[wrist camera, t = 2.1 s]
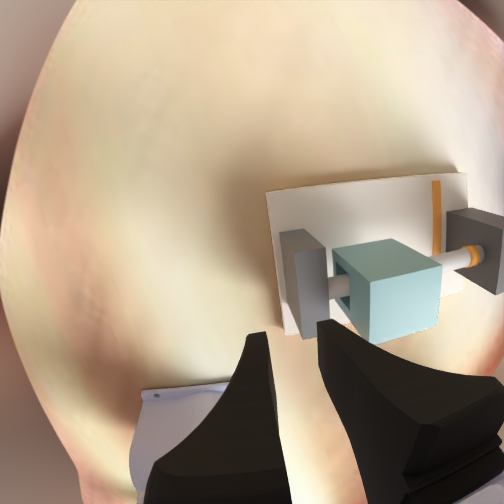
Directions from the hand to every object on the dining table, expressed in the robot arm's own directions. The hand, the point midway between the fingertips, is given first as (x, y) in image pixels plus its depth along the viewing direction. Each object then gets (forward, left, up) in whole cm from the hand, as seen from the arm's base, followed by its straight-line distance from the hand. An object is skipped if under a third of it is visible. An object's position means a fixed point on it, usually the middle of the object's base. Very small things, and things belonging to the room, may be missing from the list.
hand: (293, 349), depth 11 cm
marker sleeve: (+6, 0, -7) cm, 9 cm away
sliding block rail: (+9, 0, -10) cm, 14 cm away
